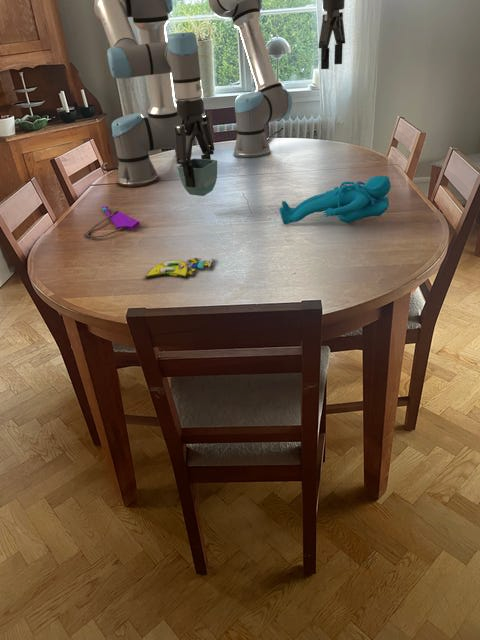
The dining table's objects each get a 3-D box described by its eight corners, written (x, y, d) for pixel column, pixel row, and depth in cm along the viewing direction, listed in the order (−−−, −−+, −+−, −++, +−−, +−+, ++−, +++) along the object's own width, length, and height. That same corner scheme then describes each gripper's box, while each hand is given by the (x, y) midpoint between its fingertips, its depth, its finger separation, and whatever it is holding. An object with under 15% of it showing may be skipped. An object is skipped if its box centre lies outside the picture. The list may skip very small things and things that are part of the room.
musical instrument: (112, 245, 135) (156, 212, 147) (109, 239, 134) (154, 206, 146) (58, 238, 148) (103, 208, 160) (55, 232, 147) (101, 202, 159)
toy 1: (206, 274, 112) (144, 275, 114) (207, 278, 112) (145, 278, 115) (214, 255, 120) (156, 256, 123) (214, 258, 121) (157, 259, 123)
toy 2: (283, 190, 142) (387, 164, 132) (292, 223, 147) (393, 200, 137) (274, 211, 129) (390, 183, 118) (285, 246, 134) (396, 223, 124)
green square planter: (205, 199, 139) (201, 168, 134) (180, 196, 143) (176, 166, 138) (221, 189, 145) (218, 159, 140) (197, 187, 149) (193, 158, 144)
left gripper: (177, 106, 120) (189, 194, 132) (221, 92, 136) (228, 172, 148) (153, 106, 124) (167, 192, 136) (199, 92, 139) (208, 170, 151)
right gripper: (330, -4, 153) (329, 70, 165) (355, -6, 171) (352, 61, 182) (308, -2, 156) (308, 71, 168) (335, -4, 174) (333, 62, 186)
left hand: (199, 181), depth 142 cm, fingers closed on green square planter, 9 cm apart
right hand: (331, 66), depth 175 cm, fingers open, 13 cm apart
